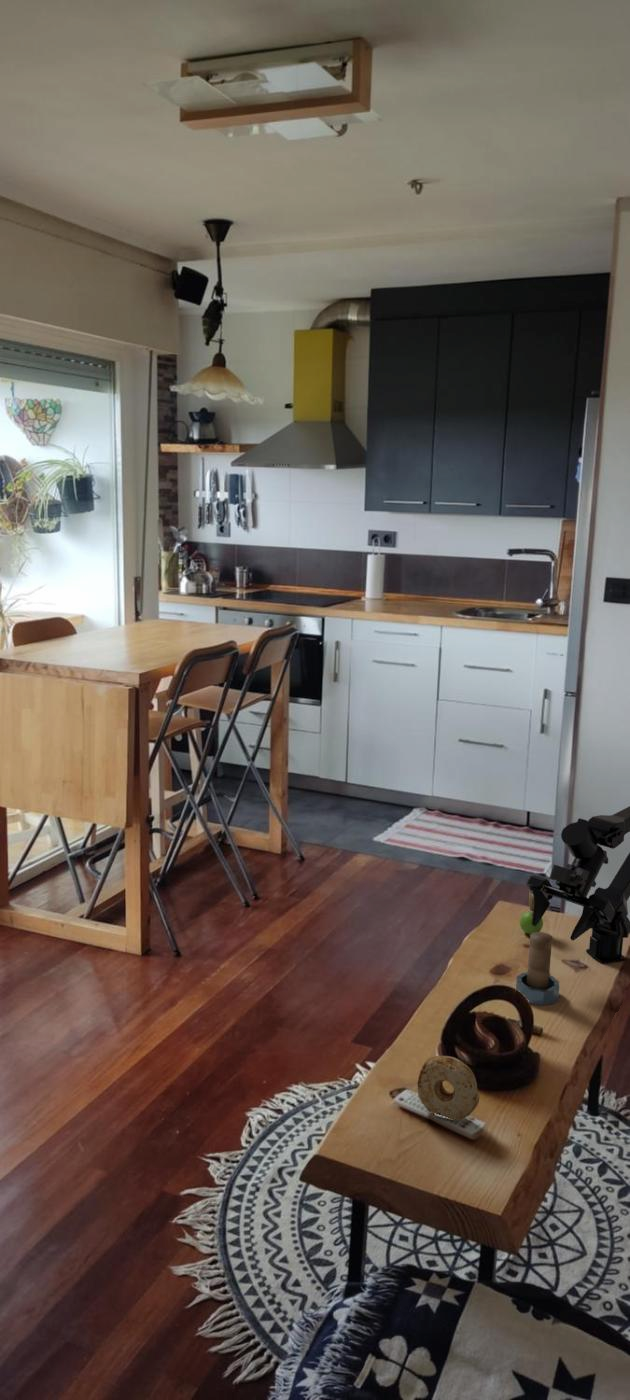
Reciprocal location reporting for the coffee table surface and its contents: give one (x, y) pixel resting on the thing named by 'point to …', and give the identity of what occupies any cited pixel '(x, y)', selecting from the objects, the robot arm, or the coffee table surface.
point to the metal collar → (538, 991)
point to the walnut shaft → (539, 960)
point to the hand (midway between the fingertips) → (552, 932)
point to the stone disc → (437, 1097)
